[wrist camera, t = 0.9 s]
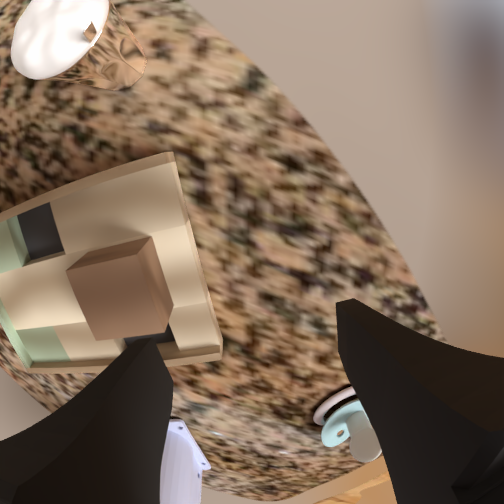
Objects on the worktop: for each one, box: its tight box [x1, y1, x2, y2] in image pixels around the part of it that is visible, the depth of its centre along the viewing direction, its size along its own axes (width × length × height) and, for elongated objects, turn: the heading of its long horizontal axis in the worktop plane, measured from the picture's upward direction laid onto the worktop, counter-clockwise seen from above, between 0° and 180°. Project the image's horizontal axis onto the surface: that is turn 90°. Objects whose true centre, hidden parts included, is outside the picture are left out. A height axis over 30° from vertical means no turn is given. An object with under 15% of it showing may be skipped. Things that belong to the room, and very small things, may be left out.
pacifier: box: [313, 386, 382, 462], centre depth 22 cm, size 7×6×6 cm
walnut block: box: [65, 236, 174, 341], centre depth 16 cm, size 4×4×3 cm
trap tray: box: [0, 152, 223, 374], centre depth 18 cm, size 13×18×2 cm
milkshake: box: [11, 0, 147, 91], centre depth 10 cm, size 4×5×10 cm
